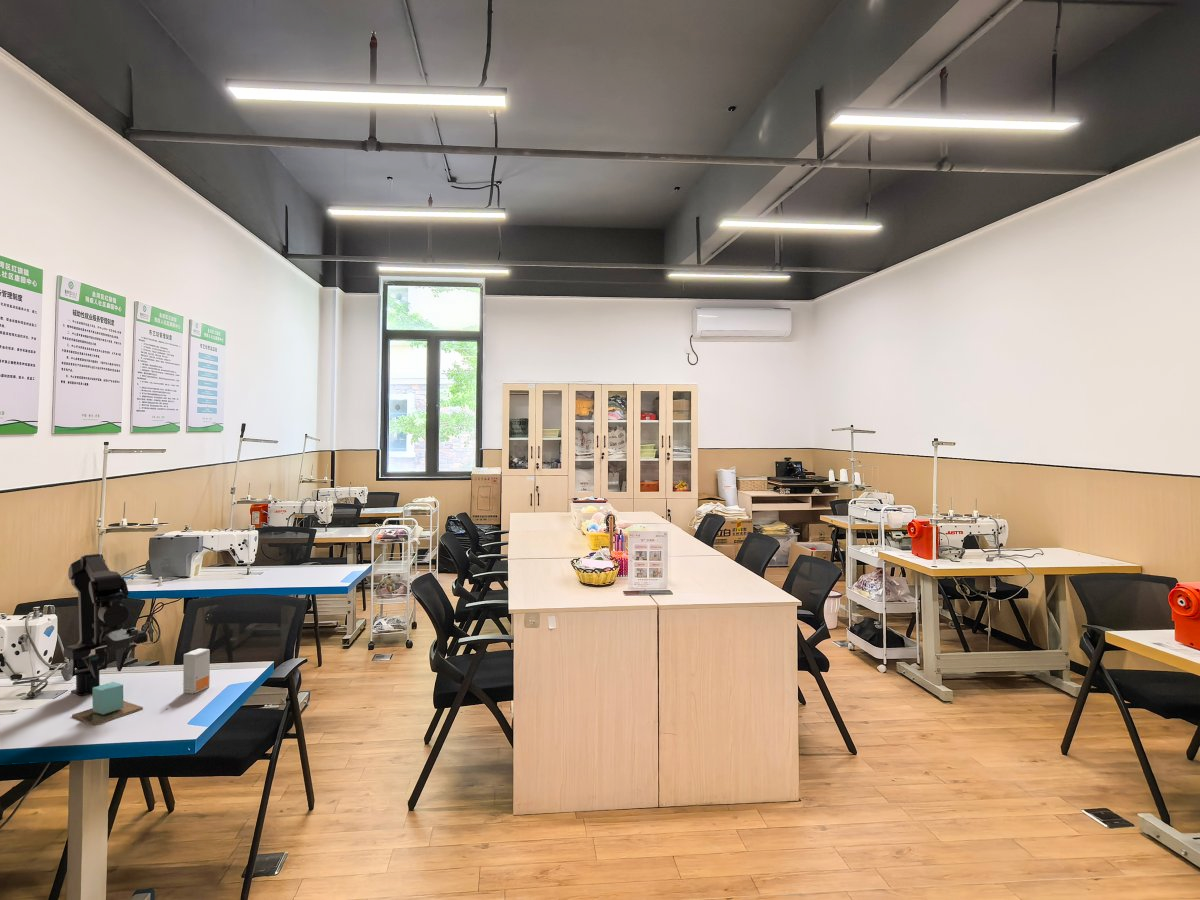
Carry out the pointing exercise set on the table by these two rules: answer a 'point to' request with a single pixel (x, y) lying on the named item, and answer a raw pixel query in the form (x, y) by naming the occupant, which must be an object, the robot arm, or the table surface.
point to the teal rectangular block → (107, 697)
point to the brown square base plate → (99, 718)
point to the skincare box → (196, 670)
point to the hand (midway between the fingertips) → (107, 674)
